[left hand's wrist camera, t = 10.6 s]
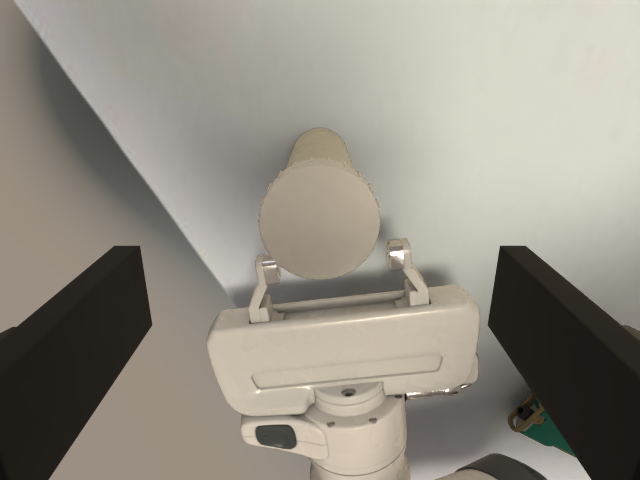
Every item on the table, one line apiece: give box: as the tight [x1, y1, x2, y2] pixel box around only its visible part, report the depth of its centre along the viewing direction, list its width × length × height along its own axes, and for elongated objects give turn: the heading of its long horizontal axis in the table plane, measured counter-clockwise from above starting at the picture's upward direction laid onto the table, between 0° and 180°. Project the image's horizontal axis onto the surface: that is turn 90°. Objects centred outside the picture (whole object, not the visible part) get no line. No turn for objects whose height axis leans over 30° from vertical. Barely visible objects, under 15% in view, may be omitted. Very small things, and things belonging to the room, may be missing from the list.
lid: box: [259, 157, 381, 280], centre depth 20 cm, size 5×5×2 cm
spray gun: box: [508, 390, 576, 457], centre depth 42 cm, size 4×17×15 cm
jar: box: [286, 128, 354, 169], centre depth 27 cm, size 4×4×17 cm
